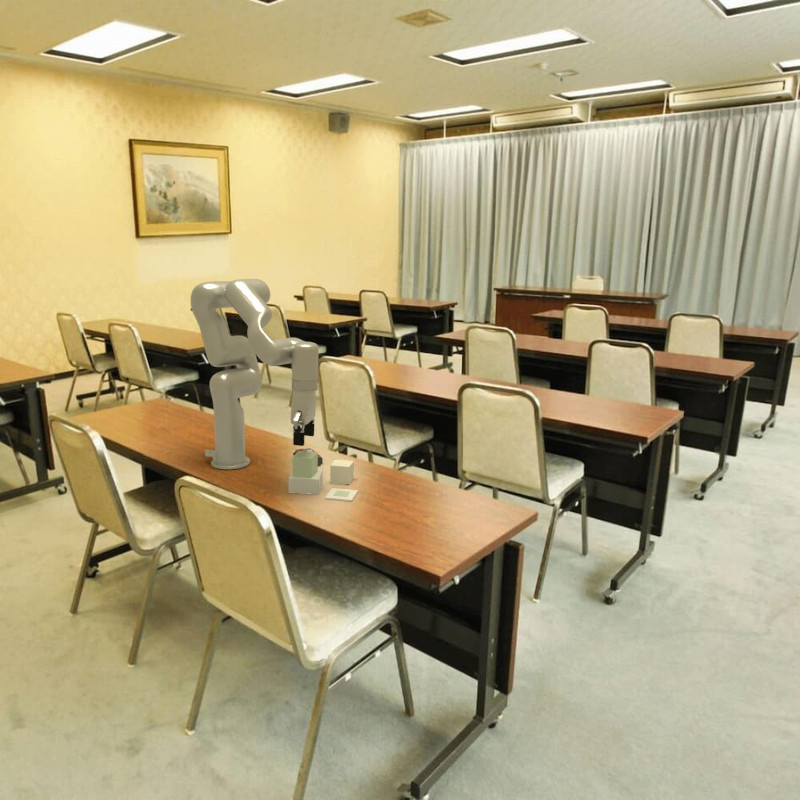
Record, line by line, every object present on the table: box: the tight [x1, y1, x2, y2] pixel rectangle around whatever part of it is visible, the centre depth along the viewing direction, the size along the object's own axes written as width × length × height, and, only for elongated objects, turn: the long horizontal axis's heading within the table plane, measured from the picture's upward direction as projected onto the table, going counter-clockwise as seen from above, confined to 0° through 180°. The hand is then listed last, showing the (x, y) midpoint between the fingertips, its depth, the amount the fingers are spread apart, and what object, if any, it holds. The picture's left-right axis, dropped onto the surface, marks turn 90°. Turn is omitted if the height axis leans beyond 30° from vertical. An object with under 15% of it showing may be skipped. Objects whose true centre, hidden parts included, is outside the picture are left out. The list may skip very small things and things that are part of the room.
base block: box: [288, 468, 324, 495], centre depth 198 cm, size 9×9×5 cm
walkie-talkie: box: [292, 447, 323, 466], centre depth 220 cm, size 9×4×20 cm
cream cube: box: [329, 459, 355, 485], centre depth 205 cm, size 6×6×6 cm
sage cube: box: [291, 451, 319, 478], centre depth 197 cm, size 6×6×6 cm
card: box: [324, 487, 359, 502], centre depth 193 cm, size 8×8×1 cm
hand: (303, 440), depth 195 cm, fingers open, 9 cm apart
